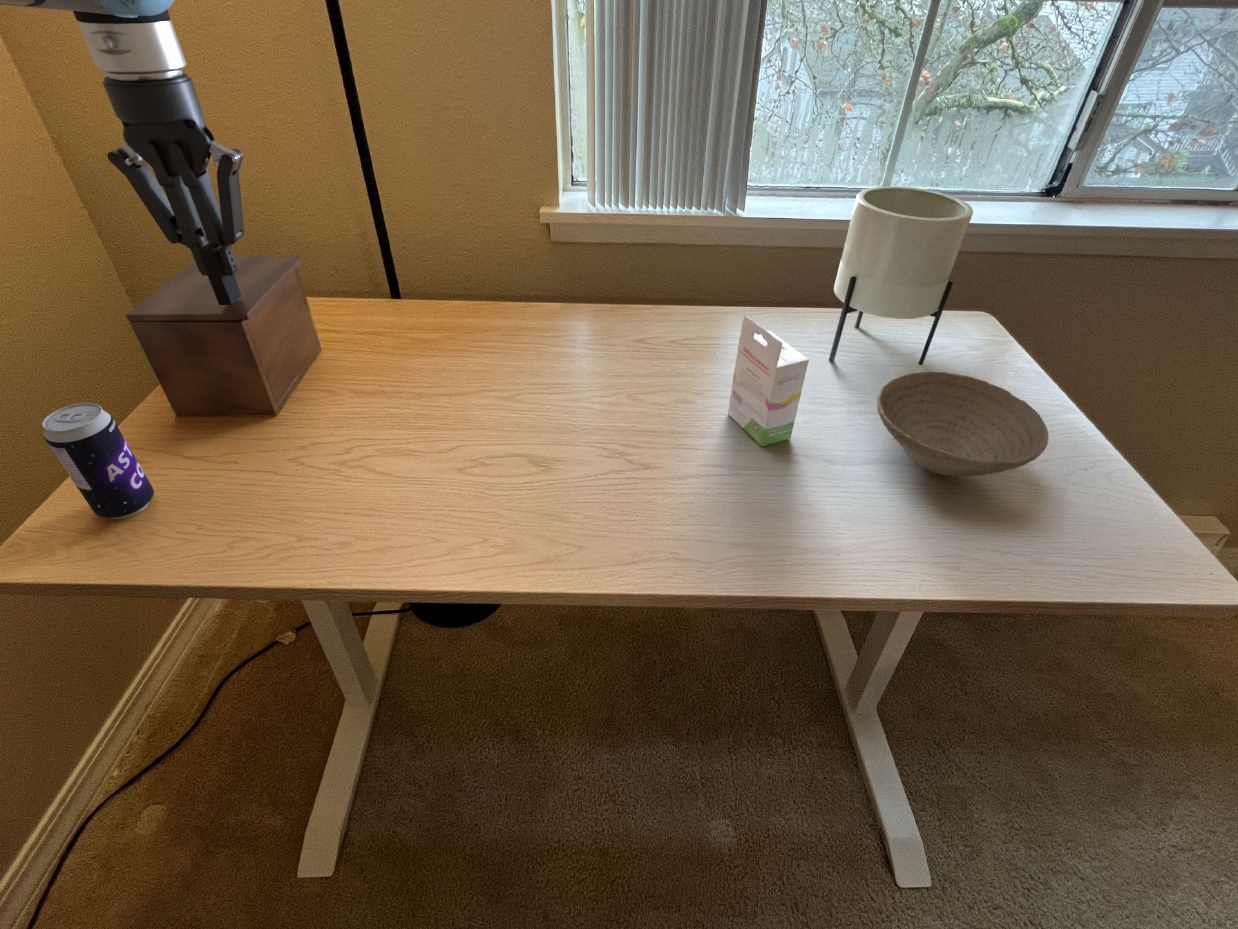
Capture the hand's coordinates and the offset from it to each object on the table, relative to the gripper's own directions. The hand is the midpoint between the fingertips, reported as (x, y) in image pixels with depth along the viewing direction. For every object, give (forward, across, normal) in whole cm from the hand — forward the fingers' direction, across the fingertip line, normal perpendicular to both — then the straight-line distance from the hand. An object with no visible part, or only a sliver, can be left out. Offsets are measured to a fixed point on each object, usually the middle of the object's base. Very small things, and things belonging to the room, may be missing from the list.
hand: (230, 300), depth 77 cm
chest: (+15, -4, +6) cm, 17 cm away
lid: (+1, -4, +6) cm, 7 cm away
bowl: (+15, +87, -12) cm, 89 cm away
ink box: (+15, +66, -4) cm, 68 cm away
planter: (+15, +88, +16) cm, 90 cm away
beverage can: (+15, -7, -20) cm, 26 cm away
